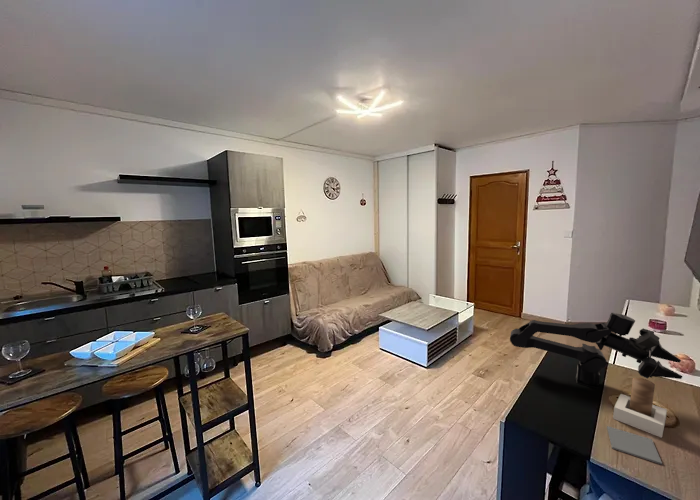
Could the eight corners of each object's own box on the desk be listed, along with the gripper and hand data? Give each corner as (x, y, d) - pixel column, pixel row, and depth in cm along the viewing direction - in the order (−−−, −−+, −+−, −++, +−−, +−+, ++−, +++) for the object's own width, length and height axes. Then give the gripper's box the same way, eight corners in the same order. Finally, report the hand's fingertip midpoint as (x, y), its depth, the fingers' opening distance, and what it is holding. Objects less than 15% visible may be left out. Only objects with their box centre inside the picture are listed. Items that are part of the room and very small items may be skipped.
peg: (630, 421, 95) (634, 383, 94) (626, 412, 99) (631, 375, 98) (651, 427, 93) (656, 388, 91) (647, 418, 97) (652, 380, 95)
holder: (612, 418, 97) (614, 407, 96) (619, 404, 104) (620, 393, 103) (661, 437, 88) (663, 425, 88) (665, 421, 95) (667, 409, 95)
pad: (612, 448, 85) (612, 446, 84) (606, 427, 93) (607, 425, 93) (661, 464, 79) (662, 463, 79) (651, 440, 87) (651, 439, 87)
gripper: (631, 342, 100) (697, 369, 91) (634, 315, 113) (692, 337, 103) (616, 365, 106) (677, 393, 96) (620, 337, 118) (675, 359, 109)
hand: (681, 369), depth 101 cm, fingers open, 9 cm apart
